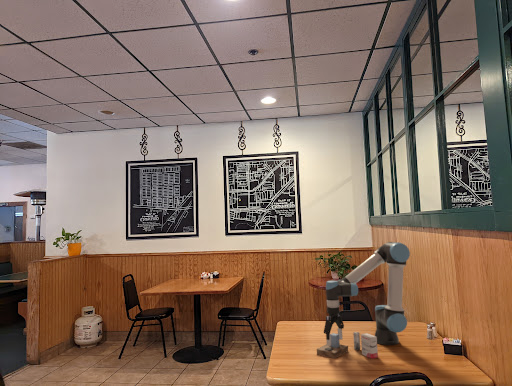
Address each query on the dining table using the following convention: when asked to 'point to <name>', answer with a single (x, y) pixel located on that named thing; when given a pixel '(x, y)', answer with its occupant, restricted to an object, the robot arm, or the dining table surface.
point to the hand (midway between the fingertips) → (334, 342)
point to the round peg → (356, 340)
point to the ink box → (369, 345)
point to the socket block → (332, 351)
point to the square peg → (335, 340)
